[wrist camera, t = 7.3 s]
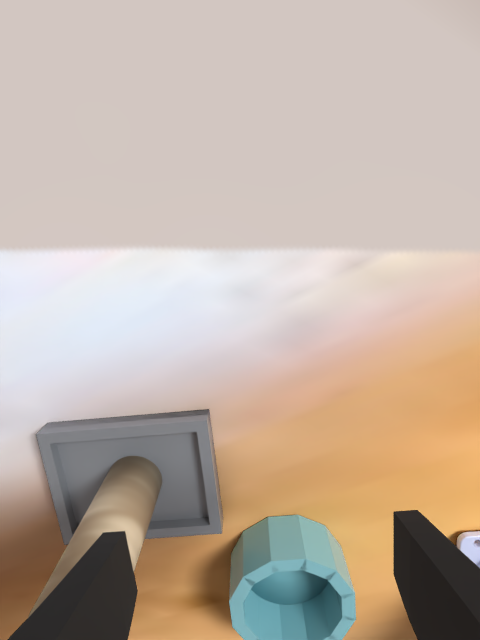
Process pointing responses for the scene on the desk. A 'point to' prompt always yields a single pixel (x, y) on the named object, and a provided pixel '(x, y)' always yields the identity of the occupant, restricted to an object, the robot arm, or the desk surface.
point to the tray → (145, 441)
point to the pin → (113, 514)
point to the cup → (290, 582)
